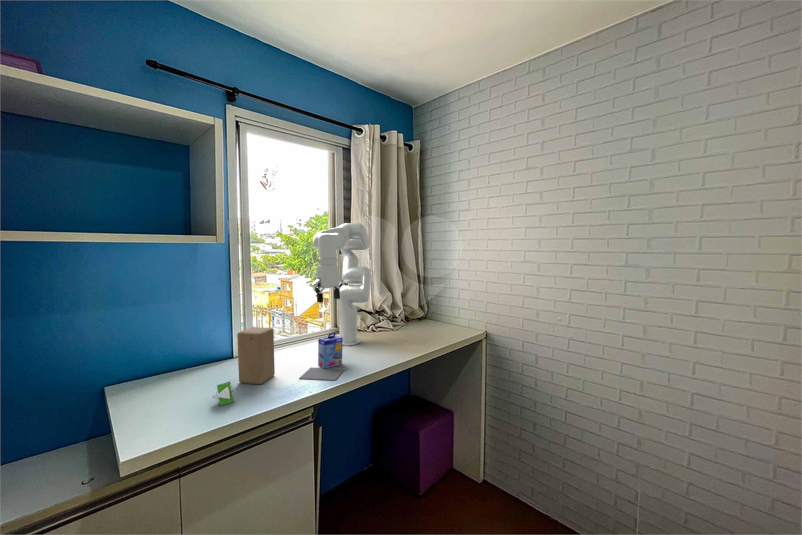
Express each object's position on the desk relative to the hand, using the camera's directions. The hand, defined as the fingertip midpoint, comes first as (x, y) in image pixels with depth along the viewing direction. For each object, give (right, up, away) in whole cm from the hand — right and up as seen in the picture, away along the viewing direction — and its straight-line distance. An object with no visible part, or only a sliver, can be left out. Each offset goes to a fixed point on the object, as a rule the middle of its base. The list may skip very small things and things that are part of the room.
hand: (328, 300), depth 150 cm
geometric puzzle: (-28, -31, -35) cm, 54 cm away
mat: (0, -29, -10) cm, 31 cm away
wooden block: (-25, -30, -15) cm, 42 cm away
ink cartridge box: (+1, -29, 0) cm, 29 cm away
